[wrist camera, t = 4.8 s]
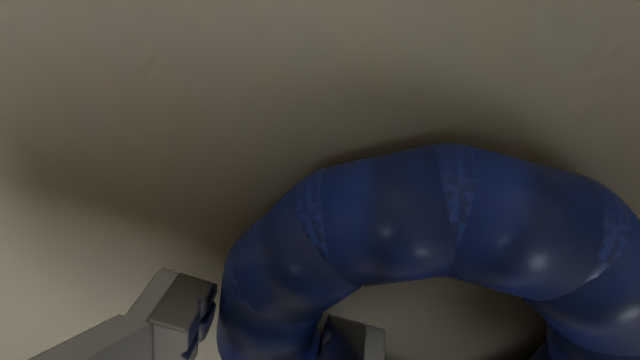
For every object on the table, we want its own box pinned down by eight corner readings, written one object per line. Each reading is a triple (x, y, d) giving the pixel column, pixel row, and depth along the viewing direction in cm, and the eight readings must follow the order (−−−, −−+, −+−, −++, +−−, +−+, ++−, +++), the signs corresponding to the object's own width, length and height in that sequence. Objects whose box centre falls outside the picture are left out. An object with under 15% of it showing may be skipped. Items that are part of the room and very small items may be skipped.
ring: (768, 204, 8) (917, 300, 6) (519, 449, 14) (545, 547, 12) (265, 73, 9) (219, 116, 6) (224, 366, 15) (193, 445, 12)
